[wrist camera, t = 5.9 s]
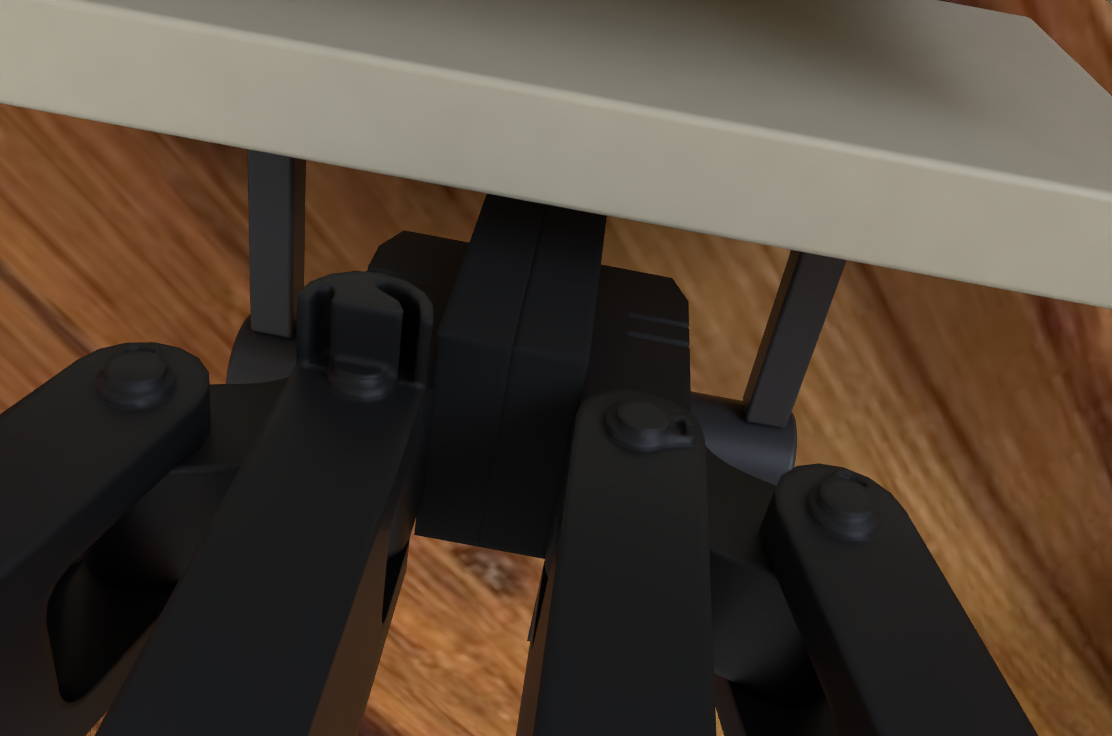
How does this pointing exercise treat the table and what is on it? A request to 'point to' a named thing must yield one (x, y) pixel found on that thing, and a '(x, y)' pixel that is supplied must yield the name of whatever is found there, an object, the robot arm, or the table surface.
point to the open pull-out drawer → (627, 137)
